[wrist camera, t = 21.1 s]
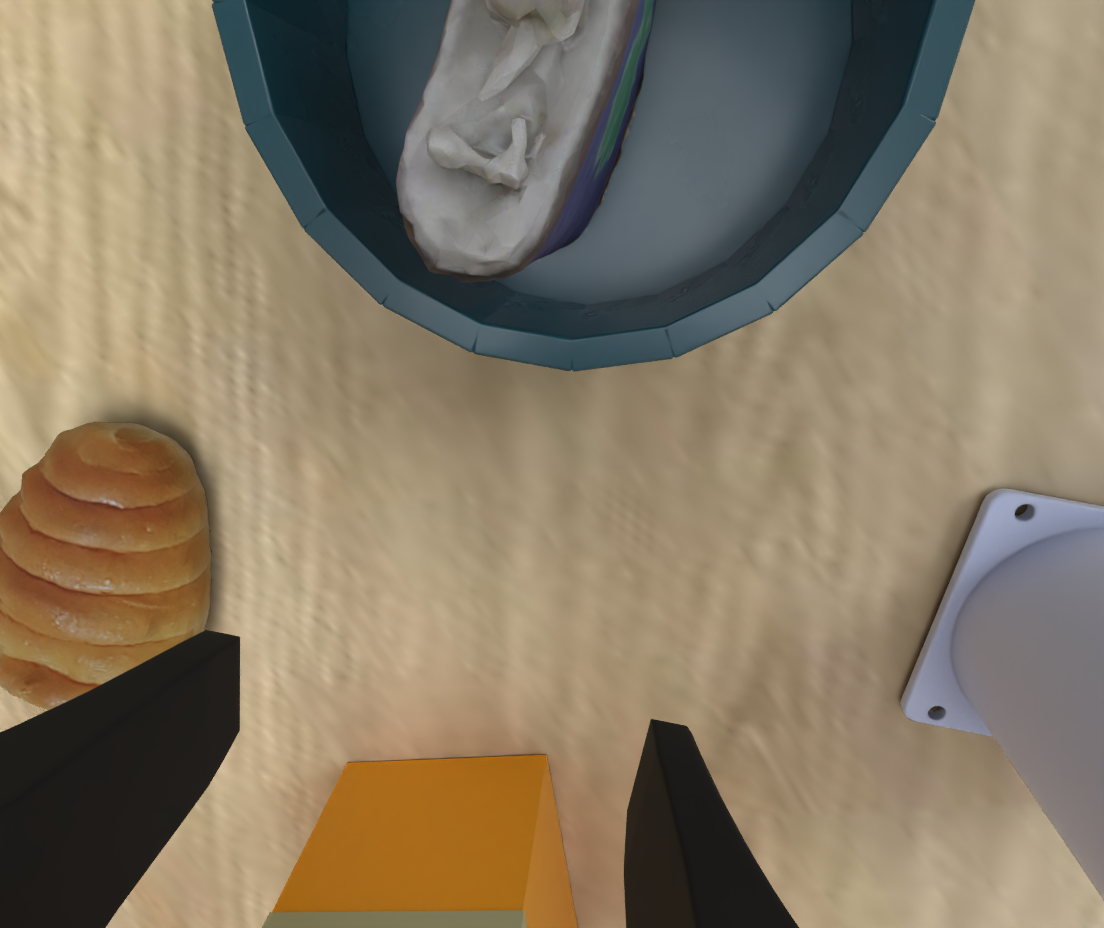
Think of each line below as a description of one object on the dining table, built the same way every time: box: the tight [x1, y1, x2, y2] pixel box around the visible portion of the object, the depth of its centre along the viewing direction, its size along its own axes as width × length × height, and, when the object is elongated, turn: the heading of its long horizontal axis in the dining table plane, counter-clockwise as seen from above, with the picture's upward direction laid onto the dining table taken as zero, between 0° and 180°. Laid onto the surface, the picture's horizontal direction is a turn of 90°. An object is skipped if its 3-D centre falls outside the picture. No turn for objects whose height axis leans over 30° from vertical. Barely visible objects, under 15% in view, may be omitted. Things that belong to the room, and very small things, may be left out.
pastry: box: [0, 422, 211, 710], centre depth 22 cm, size 9×7×4 cm
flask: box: [396, 0, 657, 282], centre depth 12 cm, size 9×3×11 cm, turn 167°
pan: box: [212, 0, 975, 371], centre depth 15 cm, size 13×13×6 cm
